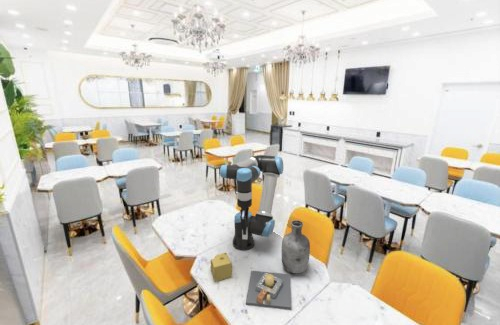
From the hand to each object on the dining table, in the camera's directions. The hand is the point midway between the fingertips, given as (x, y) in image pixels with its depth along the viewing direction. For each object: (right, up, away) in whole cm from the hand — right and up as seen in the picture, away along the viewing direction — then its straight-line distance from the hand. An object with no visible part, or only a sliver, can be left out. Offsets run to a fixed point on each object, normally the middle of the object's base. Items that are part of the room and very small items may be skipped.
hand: (245, 238), depth 126 cm
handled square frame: (+11, -25, -6) cm, 28 cm away
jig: (+13, -26, -3) cm, 29 cm away
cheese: (-14, -23, +8) cm, 28 cm away
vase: (+29, -22, +12) cm, 39 cm away
